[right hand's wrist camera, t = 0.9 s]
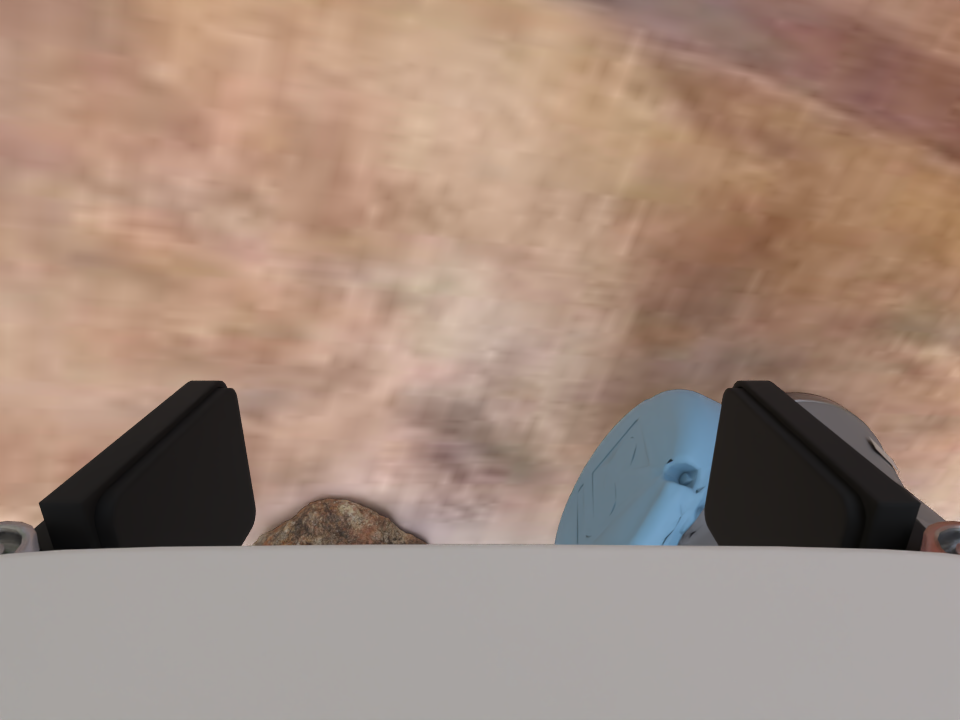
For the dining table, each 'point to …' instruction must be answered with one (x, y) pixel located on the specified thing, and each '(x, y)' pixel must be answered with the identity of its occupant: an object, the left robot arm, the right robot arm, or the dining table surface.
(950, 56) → the dining table surface
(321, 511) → the rock
